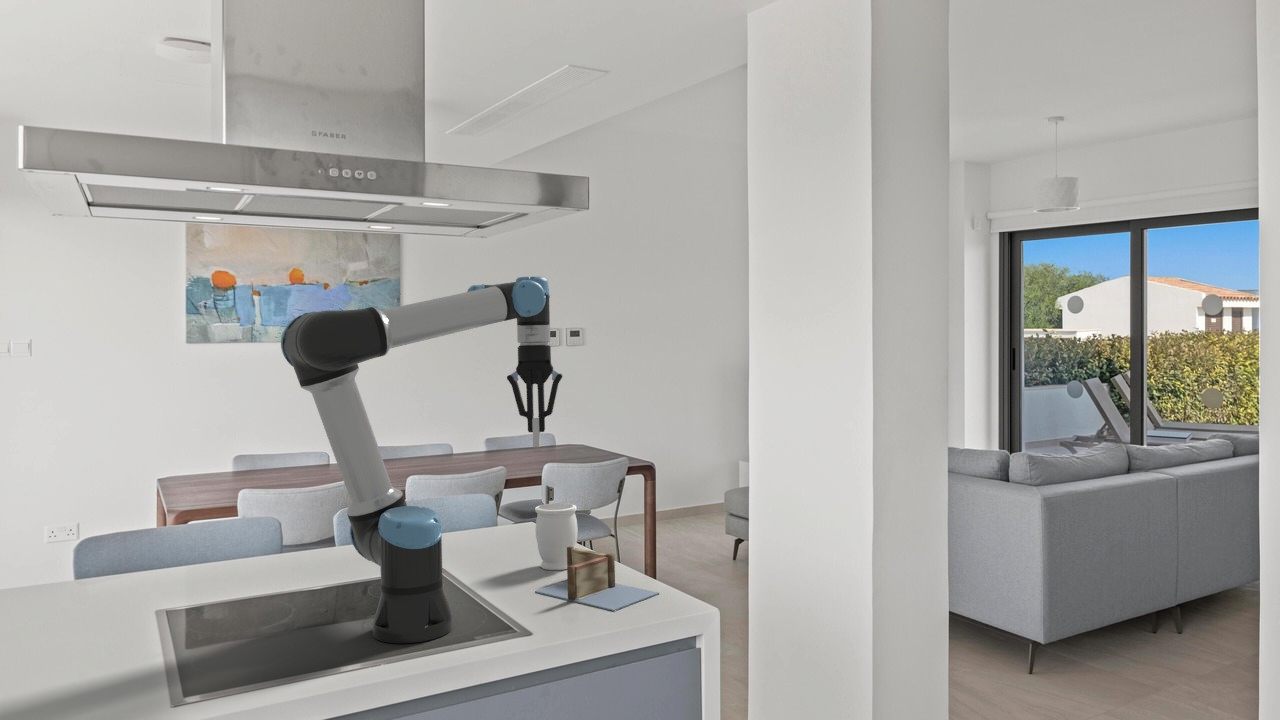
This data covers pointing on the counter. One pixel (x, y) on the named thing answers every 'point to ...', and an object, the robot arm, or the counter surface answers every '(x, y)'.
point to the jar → (555, 533)
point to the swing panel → (587, 577)
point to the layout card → (602, 595)
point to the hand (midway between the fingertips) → (536, 446)
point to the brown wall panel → (581, 556)
